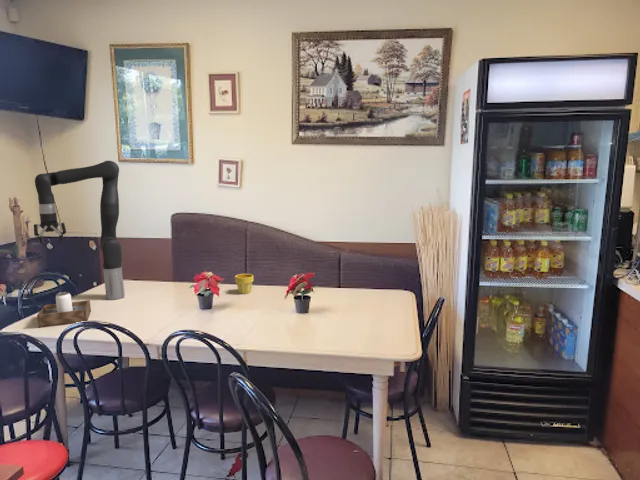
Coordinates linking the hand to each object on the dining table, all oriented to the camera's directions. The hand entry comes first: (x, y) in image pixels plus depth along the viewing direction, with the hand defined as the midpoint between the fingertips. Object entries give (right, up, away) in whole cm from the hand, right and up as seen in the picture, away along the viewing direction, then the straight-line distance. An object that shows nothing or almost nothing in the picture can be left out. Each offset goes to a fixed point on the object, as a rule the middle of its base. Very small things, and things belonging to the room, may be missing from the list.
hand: (51, 242), depth 237 cm
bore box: (+19, -37, -19) cm, 46 cm away
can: (+18, -36, -19) cm, 45 cm away
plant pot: (+98, -29, +20) cm, 104 cm away
